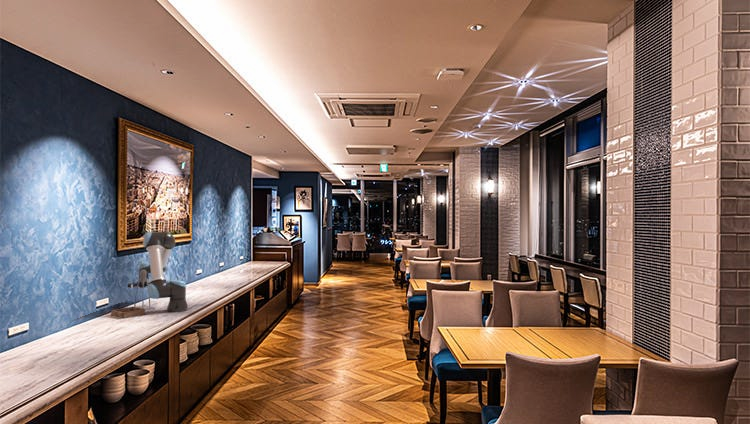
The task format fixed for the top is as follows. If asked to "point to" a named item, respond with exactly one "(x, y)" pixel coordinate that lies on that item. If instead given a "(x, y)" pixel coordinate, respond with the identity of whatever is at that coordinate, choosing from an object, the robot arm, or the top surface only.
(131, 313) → the holder frame
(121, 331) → the top surface
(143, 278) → the citrus juicer
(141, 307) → the slate tile
